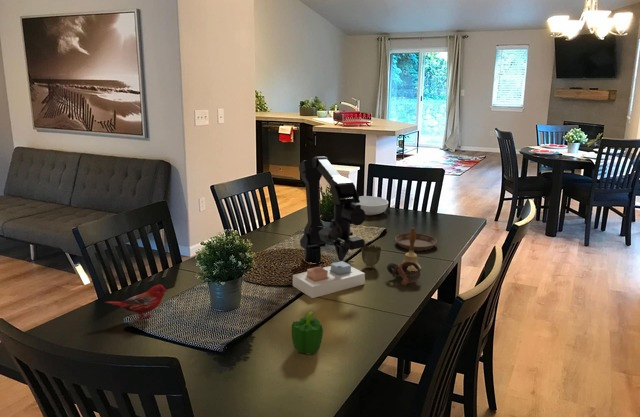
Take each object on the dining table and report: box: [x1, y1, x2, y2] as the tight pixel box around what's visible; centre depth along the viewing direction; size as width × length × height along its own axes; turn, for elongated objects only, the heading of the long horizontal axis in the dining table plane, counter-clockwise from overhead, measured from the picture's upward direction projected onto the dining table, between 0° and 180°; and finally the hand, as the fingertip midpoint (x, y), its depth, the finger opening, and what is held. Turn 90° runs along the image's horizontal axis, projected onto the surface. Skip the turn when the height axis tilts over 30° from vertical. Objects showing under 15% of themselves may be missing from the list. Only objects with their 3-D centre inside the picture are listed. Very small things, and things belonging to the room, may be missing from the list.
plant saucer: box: [394, 232, 438, 252], centre depth 220 cm, size 18×18×3 cm
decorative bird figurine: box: [104, 284, 169, 318], centre depth 149 cm, size 3×18×10 cm, turn 107°
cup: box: [360, 244, 382, 270], centre depth 192 cm, size 8×7×8 cm
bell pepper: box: [291, 311, 324, 355], centre depth 133 cm, size 8×8×10 cm
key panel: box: [292, 265, 366, 299], centre depth 176 cm, size 12×22×4 cm, turn 125°
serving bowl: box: [351, 195, 389, 216], centre depth 270 cm, size 21×21×7 cm
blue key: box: [330, 260, 352, 276], centre depth 178 cm, size 5×5×3 cm
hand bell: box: [402, 227, 422, 272], centre depth 192 cm, size 8×8×16 cm
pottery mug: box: [386, 261, 421, 286], centre depth 181 cm, size 12×10×8 cm
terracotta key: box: [306, 266, 328, 282], centre depth 173 cm, size 5×5×3 cm
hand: (340, 260), depth 178 cm, fingers closed
